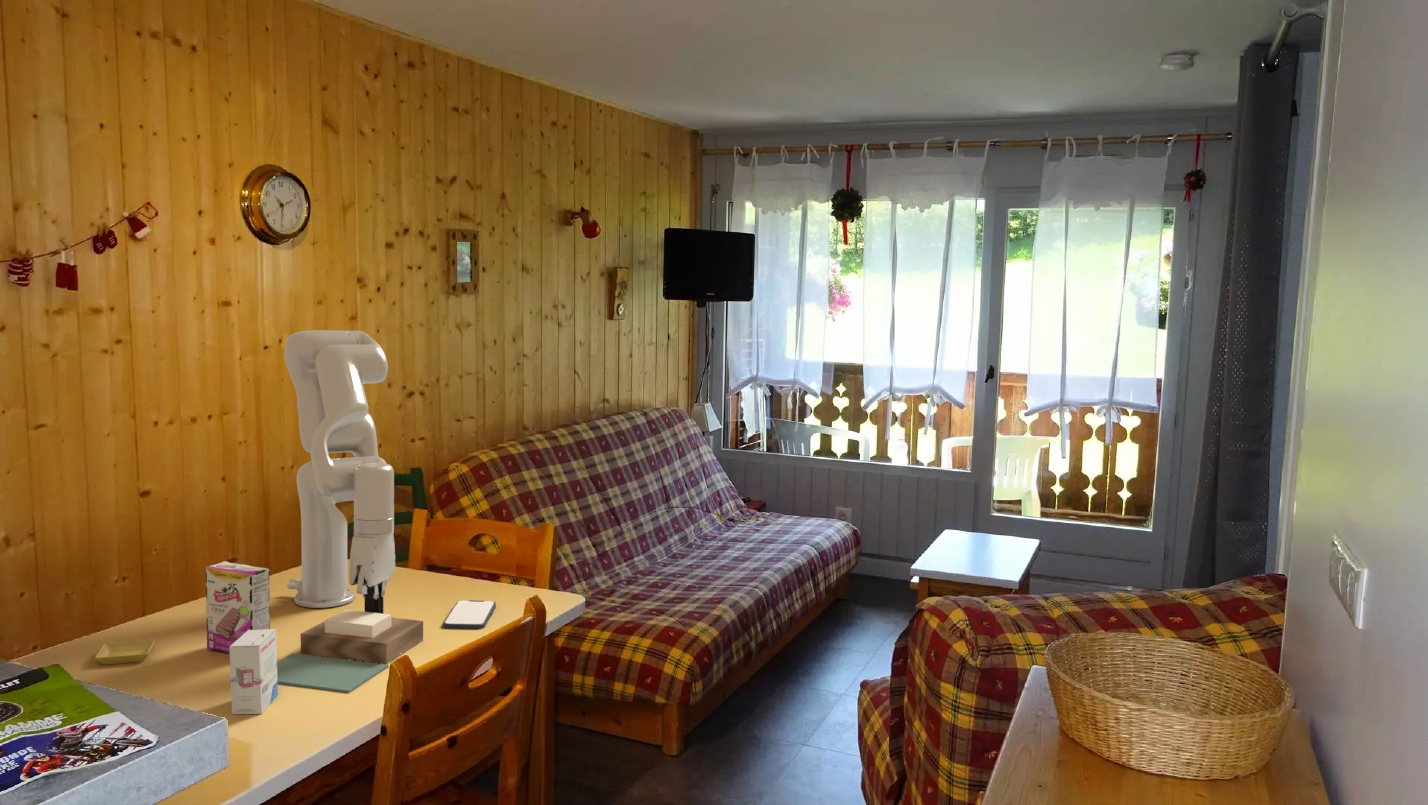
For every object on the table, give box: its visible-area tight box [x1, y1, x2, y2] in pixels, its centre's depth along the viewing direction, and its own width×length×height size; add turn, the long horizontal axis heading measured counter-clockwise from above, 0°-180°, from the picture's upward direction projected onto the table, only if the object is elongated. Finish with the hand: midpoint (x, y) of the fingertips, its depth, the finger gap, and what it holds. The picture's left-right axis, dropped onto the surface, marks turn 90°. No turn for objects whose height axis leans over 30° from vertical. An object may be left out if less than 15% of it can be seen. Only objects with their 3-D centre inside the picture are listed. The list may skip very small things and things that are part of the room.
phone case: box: [442, 599, 497, 630], centre depth 222 cm, size 9×2×16 cm
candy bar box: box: [205, 561, 271, 654], centre depth 196 cm, size 11×5×16 cm, turn 71°
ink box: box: [229, 628, 279, 715], centre depth 172 cm, size 9×5×12 cm, turn 5°
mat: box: [277, 652, 389, 694], centre depth 187 cm, size 20×13×1 cm, turn 78°
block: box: [300, 616, 424, 665], centre depth 201 cm, size 18×14×4 cm
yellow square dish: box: [94, 639, 156, 665], centre depth 192 cm, size 9×9×2 cm
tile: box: [324, 609, 392, 638], centre depth 199 cm, size 10×7×2 cm
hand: (374, 616), depth 204 cm, fingers closed
